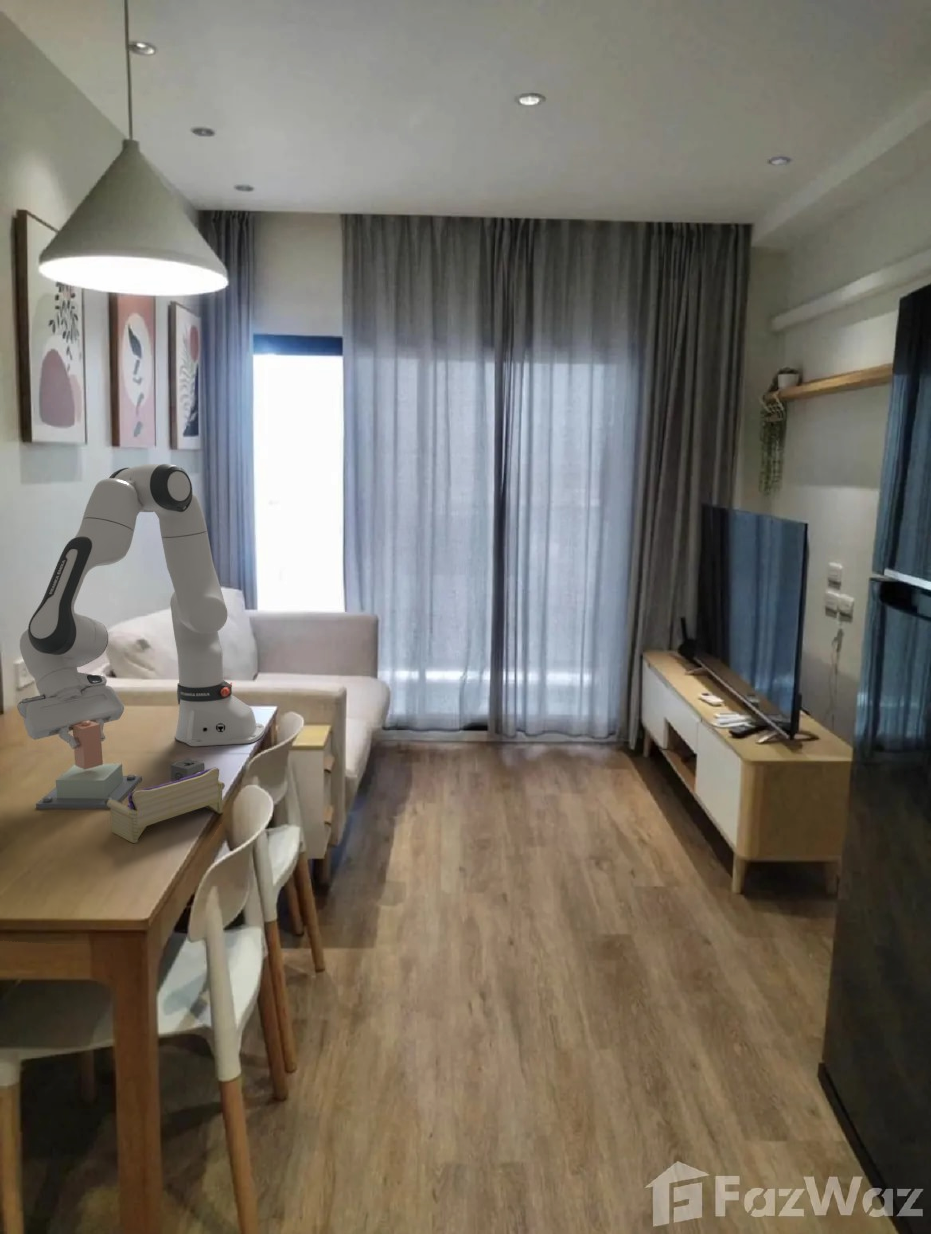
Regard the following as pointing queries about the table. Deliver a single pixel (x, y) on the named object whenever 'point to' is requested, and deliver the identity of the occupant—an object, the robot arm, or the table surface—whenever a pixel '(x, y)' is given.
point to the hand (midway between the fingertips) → (89, 743)
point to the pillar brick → (88, 744)
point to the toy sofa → (166, 803)
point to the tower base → (90, 802)
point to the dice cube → (186, 769)
